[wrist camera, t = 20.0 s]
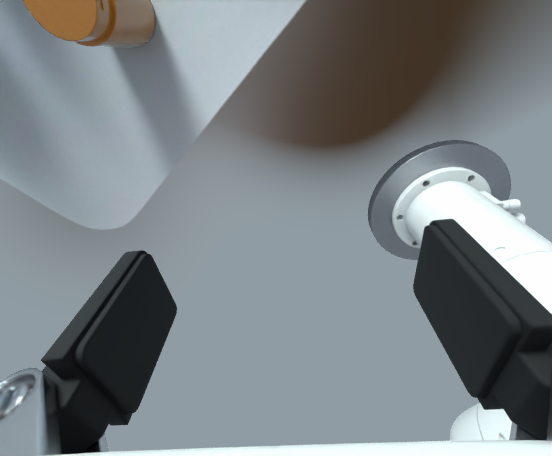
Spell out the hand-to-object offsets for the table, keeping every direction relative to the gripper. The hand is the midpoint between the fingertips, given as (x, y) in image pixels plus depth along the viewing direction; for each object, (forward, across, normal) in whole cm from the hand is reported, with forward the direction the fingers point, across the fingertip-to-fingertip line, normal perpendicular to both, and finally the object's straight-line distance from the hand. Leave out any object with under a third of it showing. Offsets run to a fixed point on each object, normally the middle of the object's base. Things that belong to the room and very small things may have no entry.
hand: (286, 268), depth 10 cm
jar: (+28, +15, -12) cm, 34 cm away
